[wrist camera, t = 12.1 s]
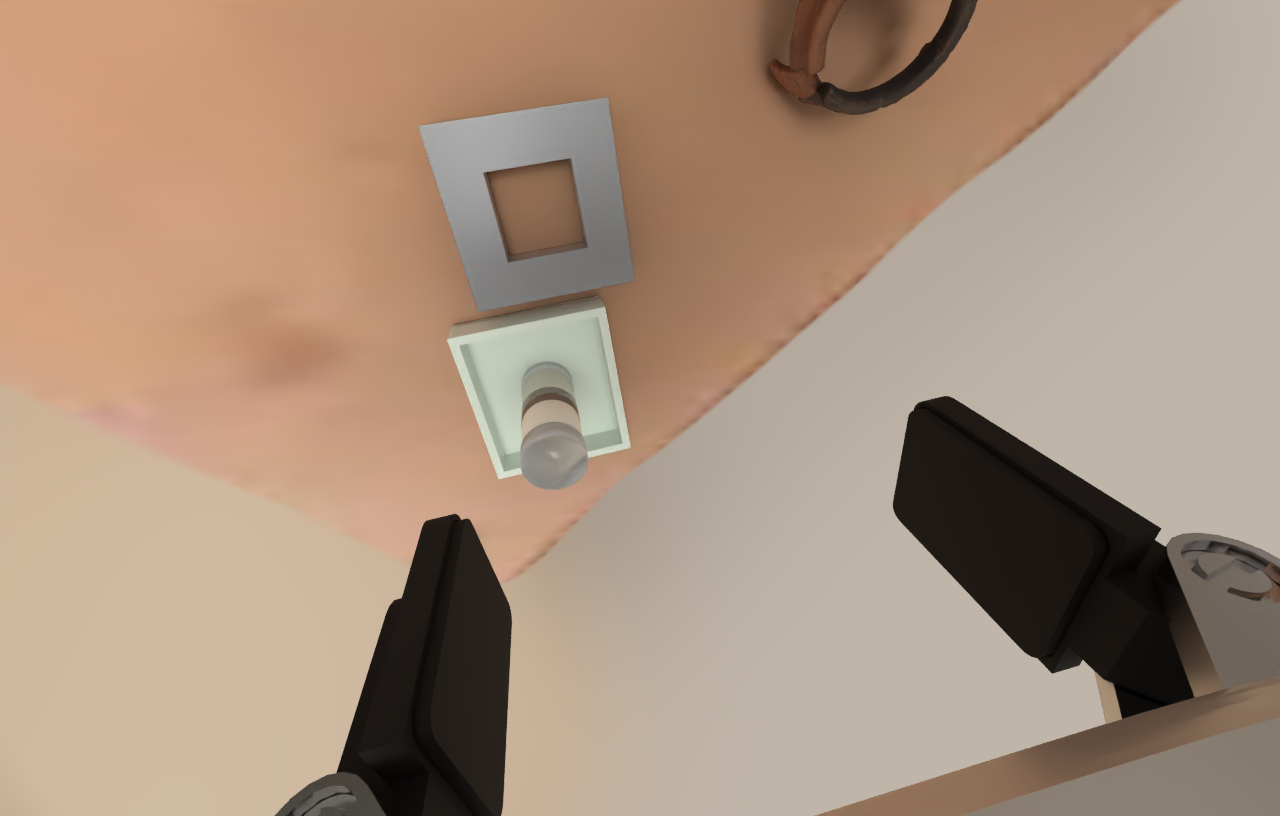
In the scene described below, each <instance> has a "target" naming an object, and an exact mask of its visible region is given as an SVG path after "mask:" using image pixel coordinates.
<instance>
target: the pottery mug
mask: <svg viewBox="0 0 1280 816" xmlns="http://www.w3.org/2000/svg"><path fill="white" fill-rule="evenodd" d="M844 2H845V0H801V1H800V3H799V6H798V9H797V14H796V21H795V25H794V30H793V33H792V39H791V44H790V66H785V65H783V64H781V63H780V62H779V61H778V60H775V59H773V60H772V61H771V62H770V64H769V68H770V70H771V72H772V74H773V75H774V77H775V78H776V79H777V81H778V82H779V83H780V84H781V85H782V86H783V88H785V89H786V91H788V92H789V93H791V94H792V95H794V96H797V97H798V100H799V101H801V102H803V103H805V104H810V105H814V106H820V107H825V108H828V109H830V110H833V111H835V112H838V113H845V114H850V115H858V114H865V113H869V112H872V111H876V110H878V109H879V108H881V107H887V106H889V105H891V104H893V103H897V102H898V101H899V100H900V99H902V98H903V97H905V96H907V95H908V94H910V93H912V92H913V91H915V90H916V89H917V88H918V87H920V86H921V85H922V84H923V83H924V82H925V81H926V80H928V79H929V78H930V77H931V76H932V75H933V74H934V73H935V72H936V71H937V70H938V68H939V67H940V66H941V65H942V64H943V63H944V62H945V61H946V59H947V58H948V56H949V54H950V53H951V52H952V51H953V49H954V48H955V46H956V45H957V43H958V42H959V40H960V38H961V36H962V35H963V33H964V32H965V30H966V29H967V27H968V23H969V21H970V19H971V17H972V15H973V13H974V10H975V7H976V3H977V0H952V2H951V5H950V8H949V10H948V13H947V15H946V18H945V20H944V22H943V24H942V26H941V27H940V29H939V31H938V33H937V34H936V35H935V37H934V38H933V40H932V41H931V42H930V43H926V44H925V45H924V46H923V47H922V49H921V51H920V53H919V54H918V56H917V57H916V58H915V59H914V60H913V61H912V62H911V63H910V64H909V65H908V66H907V67H906V68H905V69H904V70H903V71H902V72H900V73H899V74H897V75H896V76H895V77H893V78H892V79H890V80H889V81H887V82H885V83H884V84H881V85H879V86H877V87H874V88H871V89H868V90H865V91H860V92H848V91H845V90H841V89H839V88H837V87H835V86H834V85H832V84H831V83H828V82H821V81H820V79H819V77H818V75H817V74H816V73H818V72H820V71H821V70H822V69H823V68H824V59H825V50H826V43H827V38H828V34H829V31H830V29H831V26H832V24H833V22H834V20H835V17H836V15H837V13H838V12H839V10H840V8H841V7H842V5H843V3H844Z"/></svg>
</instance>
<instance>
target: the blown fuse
mask: <svg viewBox="0 0 1280 816" xmlns="http://www.w3.org/2000/svg"><path fill="white" fill-rule="evenodd" d="M521 395H522V416H521V427H522V443H521V449H520V468H521V471H522V474H523V475H524V477H525V478H526V480H527V481H528V482H530V483H531V484H532V485H534V486H536V487H539V488H541V489H546V490H558V489H563V488H566V487H569V486H571V485H573V484H574V483H576V482H577V481H578V480H579V479H581V477H582V476H583V475H584V473H585V472H586V470H587V466H588V454H587V449H586V444H585V440H584V438H583V434H582V429H581V424H580V418H579V413H578V408H577V404H576V399H575V394H574V386H573V381H572V377H571V375H570V373H569V371H568V370H567V369H566V368H565V367H563V366H562V365H560V364H558V363H555V362H549V361H545V362H540V363H537V364H534V365H533V366H531V367H530V368H529V369H528V370H527V371H526V372H525V374H524V376H523V378H522V384H521Z"/></svg>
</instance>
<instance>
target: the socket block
mask: <svg viewBox="0 0 1280 816" xmlns="http://www.w3.org/2000/svg"><path fill="white" fill-rule="evenodd" d="M418 128H419V131H420V134H421V137H422V140H423V143H424V146H425V149H426V152H427V155H428V158H429V162H430V165H431V168H432V171H433V174H434V177H435V180H436V183H437V186H438V189H439V192H440V195H441V199H442V202H443V205H444V208H445V211H446V214H447V217H448V220H449V223H450V226H451V229H452V232H453V236H454V239H455V242H456V245H457V248H458V251H459V254H460V257H461V260H462V263H463V266H464V269H465V273H466V276H467V279H468V282H469V285H470V288H471V291H472V294H473V297H474V300H475V303H476V306H477V310H478V312H481V311H486V310H491V309H496V308H501V307H506V306H511V305H516V304H521V303H526V302H531V301H536V300H541V299H546V298H551V297H556V296H562V295H567V294H572V293H577V292H582V291H587V290H592V289H597V288H602V287H607V286H612V285H617V284H622V283H627V282H632V281H634V274H633V267H632V260H631V253H630V246H629V239H628V232H627V226H626V219H625V212H624V205H623V198H622V191H621V184H620V178H619V171H618V164H617V157H616V150H615V143H614V136H613V130H612V123H611V116H610V109H609V102H608V97H606V98H599V99H593V100H586V101H580V102H573V103H566V104H560V105H553V106H547V107H540V108H534V109H527V110H520V111H514V112H507V113H501V114H494V115H488V116H481V117H474V118H468V119H461V120H455V121H448V122H442V123H435V124H429V125H422V126H418ZM563 159H568V160H569V165H570V171H571V176H572V181H573V186H574V192H575V197H576V202H577V207H578V212H579V218H580V223H581V228H582V233H583V238H584V242H579V243H574V244H569V245H563V246H558V247H553V248H547V249H542V250H537V251H531V252H526V253H520V254H515V255H510V256H509V253H508V250H507V246H506V242H505V239H504V235H503V231H502V228H501V224H500V220H499V217H498V213H497V209H496V206H495V202H494V198H493V195H492V191H491V187H490V184H489V180H488V176H487V173H486V172H490V171H496V170H502V169H508V168H514V167H520V166H526V165H533V164H539V163H545V162H551V161H557V160H563Z"/></svg>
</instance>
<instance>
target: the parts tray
mask: <svg viewBox="0 0 1280 816" xmlns="http://www.w3.org/2000/svg"><path fill="white" fill-rule="evenodd" d="M447 341H448V344H449V346H450V349H451V352H452V354H453V357H454V360H455V363H456V365H457V368H458V371H459V373H460V376H461V379H462V381H463V384H464V387H465V390H466V392H467V395H468V398H469V400H470V403H471V406H472V408H473V411H474V414H475V417H476V419H477V422H478V425H479V427H480V430H481V433H482V435H483V438H484V441H485V444H486V446H487V449H488V452H489V454H490V457H491V460H492V462H493V465H494V468H495V471H496V473H497V476H498V479H503V478H507V477H511V476H515V475H519V474H522V471H521V468H520V449H521V443H522V427H521V416H522V395H521V384H522V378H523V376H524V374H525V372H526V371H527V370H528V369H529V368H530V367H531V366H533V365H534V364H537V363H540V362H545V361H549V362H555V363H558V364H560V365H562V366H563V367H565V368H566V369H567V370H568V371H569V373H570V375H571V377H572V381H573V386H574V394H575V399H576V404H577V408H578V413H579V418H580V424H581V429H582V434H583V438H584V440H585V444H586V449H587V454H588V458H590V457H594V456H598V455H603V454H607V453H611V452H615V451H619V450H623V449H628V448H631V446H630V440H629V435H628V429H627V424H626V418H625V413H624V407H623V402H622V396H621V391H620V385H619V380H618V375H617V369H616V364H615V358H614V353H613V347H612V342H611V336H610V331H609V325H608V320H607V314H606V309H605V306H604V304H603V302H602V300H601V298H600V296H594V297H589V298H584V299H579V300H574V301H569V302H564V303H559V304H554V305H549V306H544V307H539V308H534V309H529V310H524V311H519V312H514V313H509V314H504V315H499V316H494V317H489V318H484V319H479V320H474V321H469V322H464V323H459V324H454V325H452V328H451V330H450V333H449V335H448V338H447Z"/></svg>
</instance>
